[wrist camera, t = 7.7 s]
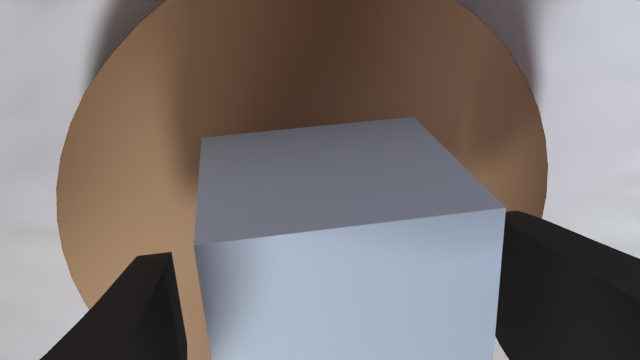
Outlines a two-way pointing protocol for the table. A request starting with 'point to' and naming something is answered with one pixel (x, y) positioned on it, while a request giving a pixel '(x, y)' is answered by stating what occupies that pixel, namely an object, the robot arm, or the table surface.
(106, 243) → the walnut bowl
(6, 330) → the table surface
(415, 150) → the blue cube
